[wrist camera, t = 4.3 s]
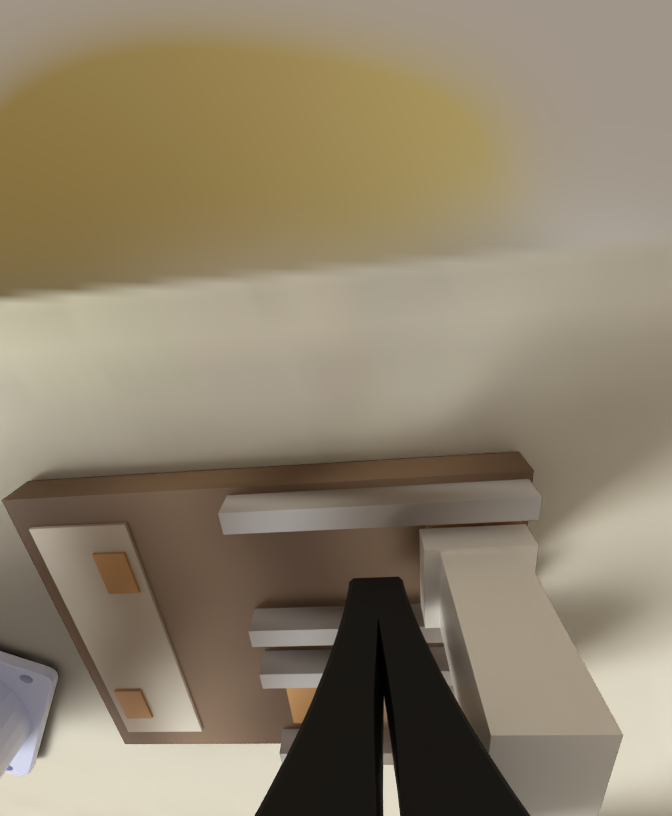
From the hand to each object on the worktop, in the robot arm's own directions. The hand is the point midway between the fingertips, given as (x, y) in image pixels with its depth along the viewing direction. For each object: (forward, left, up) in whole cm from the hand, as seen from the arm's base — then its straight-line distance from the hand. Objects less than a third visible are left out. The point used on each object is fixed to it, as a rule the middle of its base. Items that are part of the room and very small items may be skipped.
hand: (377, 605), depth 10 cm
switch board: (-1, -4, -3) cm, 5 cm away
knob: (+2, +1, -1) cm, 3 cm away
